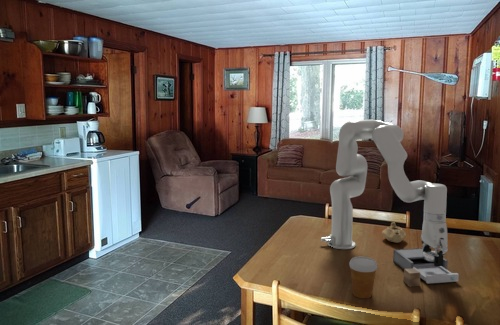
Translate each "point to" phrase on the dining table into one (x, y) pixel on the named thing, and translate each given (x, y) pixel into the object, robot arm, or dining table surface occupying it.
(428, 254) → the silver disc
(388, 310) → the dining table surface
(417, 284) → the walnut block
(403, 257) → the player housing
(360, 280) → the disposable coffee cup
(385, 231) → the oil lamp
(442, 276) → the tray
